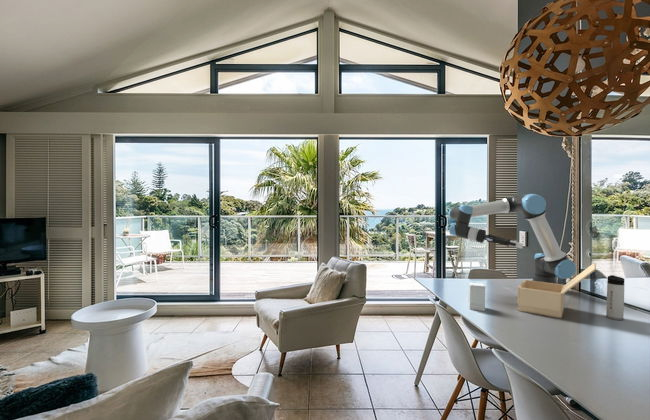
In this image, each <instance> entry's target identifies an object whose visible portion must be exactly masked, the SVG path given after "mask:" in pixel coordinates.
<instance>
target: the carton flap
mask: <svg viewBox="0 0 650 420" xmlns="http://www.w3.org/2000/svg"><path fill="white" fill-rule="evenodd" d="M596 267H597V265H596V263H595V262H593V263H592V264H591V265H589V266H588V267H586V268H585V269H584V270H583V271H581V272H580V273H579V274H577V275H576V276H574V277H573V278H572V279H570V280H569V281H568V282H566V284H564V285H565V286H564V289H563V292H562V293H563V294H564V293H565V294H566V293H567V292H568V291H570V290H571V289H572V288H573V287H575V286H577V285H578V284H579V283H581V282H582V281H583V280H584V279H585V278H588V277H589V275H591V274H593V273H594V272H595V271H596V270H597V268H596Z"/></svg>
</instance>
